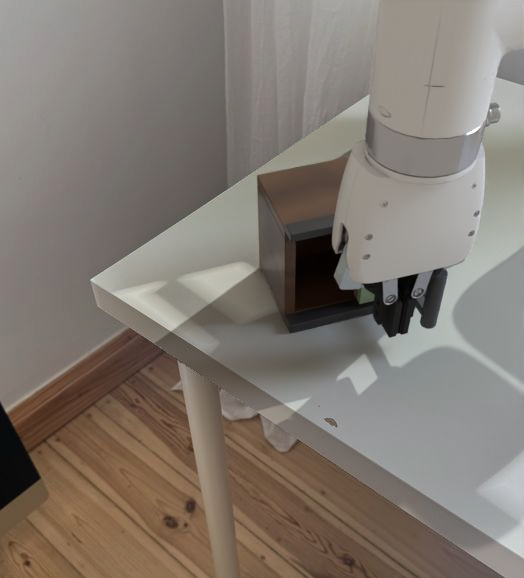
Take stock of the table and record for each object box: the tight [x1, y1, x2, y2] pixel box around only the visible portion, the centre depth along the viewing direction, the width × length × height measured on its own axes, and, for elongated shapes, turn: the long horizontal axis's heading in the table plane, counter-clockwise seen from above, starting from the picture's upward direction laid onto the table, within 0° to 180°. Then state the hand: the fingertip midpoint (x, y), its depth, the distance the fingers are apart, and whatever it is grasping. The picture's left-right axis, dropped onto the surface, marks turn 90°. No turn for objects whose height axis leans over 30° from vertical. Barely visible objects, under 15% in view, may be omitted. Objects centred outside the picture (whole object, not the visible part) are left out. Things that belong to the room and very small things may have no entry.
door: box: [357, 269, 449, 330], centre depth 63 cm, size 7×7×9 cm
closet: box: [256, 156, 427, 334], centre depth 67 cm, size 10×14×12 cm
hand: (390, 323), depth 62 cm, fingers closed
